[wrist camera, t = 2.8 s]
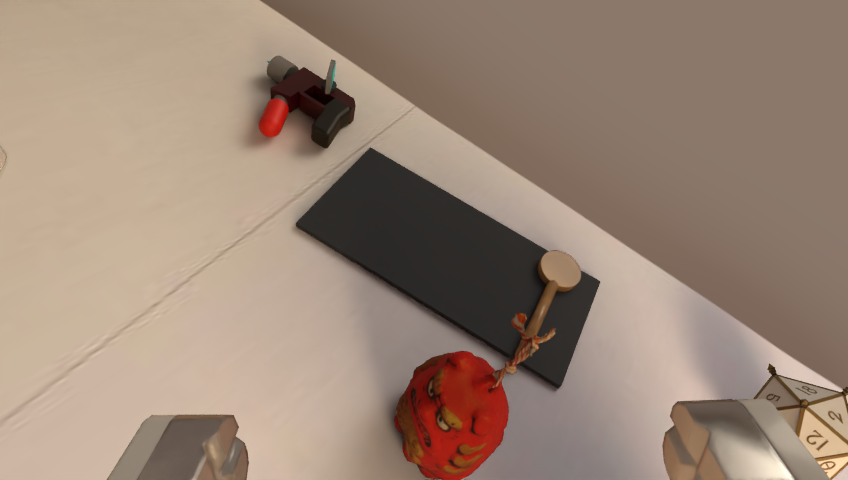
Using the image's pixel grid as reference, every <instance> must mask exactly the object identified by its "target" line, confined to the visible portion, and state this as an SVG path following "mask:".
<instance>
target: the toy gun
mask: <svg viewBox="0 0 848 480" xmlns="http://www.w3.org/2000/svg"><path fill="white" fill-rule="evenodd" d="M267 62H268V63H269V64H268V67H267V74H268V76H269V77H270V78H272V79H274V80H275V81H277V82H278V84H277V85H275V86H274V87H272V88H271V100H270V101H269V102H268V104H267V107H266V109H265V111H264V113H263V115H262V117H261V120H260V122H259V129H260V131H261V133H262V134H263V135H265V136H267V137H275V136H277V135H278V134H279V133H280V131H281V129H282V126H283V124H284V122H285V119H286V117H287V114H288V112H290V113H291V112H292V111H294V110H295V109H296V108H298V107H299V109H300V110H301V111H303V112H304V113H306V114H307V115H309V116H310V117H312V118H313V119H315V120H316V121H315V122H314V124H313V125H312V135H311V138H312V140H313V141H314V142H316V143H317V144H319V145H320V146H322V147H324V148H328V147H329V145H330V144H331V142H332V140H333V139H334V137H335V136H336V134H337V133H338V131H339V130H340V129H341V128H342V127H343V126H345V125H346V124H347V123H349V124H350V123H351V122H352V121H353V119H354V112H355V101H354V98H352V97H350V96H349V95H347V94H346V93H344V92H343V91H341V90H339V89H338V88H336V86H337V85H336V83H335V82H334V81H333V80H334V74H335V64H336V62H335V60H331V62H330V66H329V70H328V73H327V78H326V80H323V79H322V78H320V77H319V76H317V75H316V74H314V73H313V72H311V71H309V70H308V69H306V68H305V67H303V68H302V69H300V70H298V67H297V66H296V65H294V64H292V63H291V62H289V61H288V60H286V59H284V58H283V57H281V56H275V57H274V58H273V59H272V60H271V61H270V62H269V61H267Z"/></svg>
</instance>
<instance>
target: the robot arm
mask: <svg viewBox="0 0 848 480" xmlns="http://www.w3.org/2000/svg"><path fill="white" fill-rule="evenodd" d="M5 160H6V153H5V152H4V150H3V149H2V148H1V147H0V171H1V169H2V167H3V165H4V163H5ZM670 417H671V419H672V421H673V423H674V426H673V427H672V428H670V429H669V430H668V431H667V432H665V436H664V441H663V457H664V463H665V466H666V470H667V473H668V475H669V478H670V480H831V479H830V478H829V477H828V475H827V474H826V473H825V471H824V470H823V469H822V467H821V466H820V465H819V463H818V462H817V461H816V460H815V458H814V457H813V456H812V454H811V453H810V452H809V450H808V449H807V448H806V447H805V445H804V444H803V443H802V441H801V440H800V439H799V437H798V436H797V435H796V433H795V432H794V431H793V430H792V428H791V427H790V426H789V424H788V423H787V422H786V420H785V419H784V418H783V417H782V415H781V414H780V413H779V411H778V410H777V409H776V407H775V406H774V405H773V404H772V403H771V402H769V401H768V400H766V399H740V400H732V399H727V400H702V401H678V402H677V403H675V404H674V405H673V407H672V411H671V414H670ZM238 428H239V426H238V424H237V422H236V419H235V417H234V415H151V416H150V417H149V418H147V419H146V420H145V421H144V422H143V423H142V424H141V426H140V428H139V429H138V431H137V432H136V434H135V436H134V437H133V439H132V440H131V442H130V443H129V445H128V447H127V448H126V450H125V451H124V453H123V455H122V456H121V458H120V459H119V461H118V463H117V464H116V466H115V467H114V469H113V471H112V472H111V474H110V475H109V477H108V479H107V480H247V472H248V465H249V461H248V452H247V449H246V446H245V443H244V442H243V441H241V440H240V439H238V438H237V437H236V436H235V435H236V433H237V430H238Z"/></svg>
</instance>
